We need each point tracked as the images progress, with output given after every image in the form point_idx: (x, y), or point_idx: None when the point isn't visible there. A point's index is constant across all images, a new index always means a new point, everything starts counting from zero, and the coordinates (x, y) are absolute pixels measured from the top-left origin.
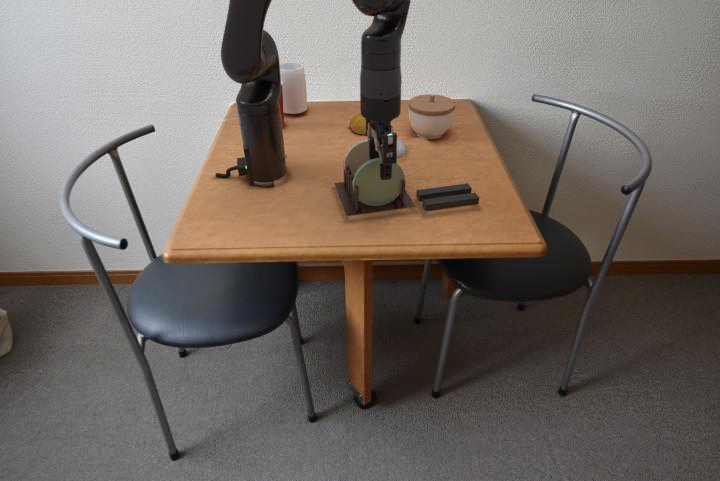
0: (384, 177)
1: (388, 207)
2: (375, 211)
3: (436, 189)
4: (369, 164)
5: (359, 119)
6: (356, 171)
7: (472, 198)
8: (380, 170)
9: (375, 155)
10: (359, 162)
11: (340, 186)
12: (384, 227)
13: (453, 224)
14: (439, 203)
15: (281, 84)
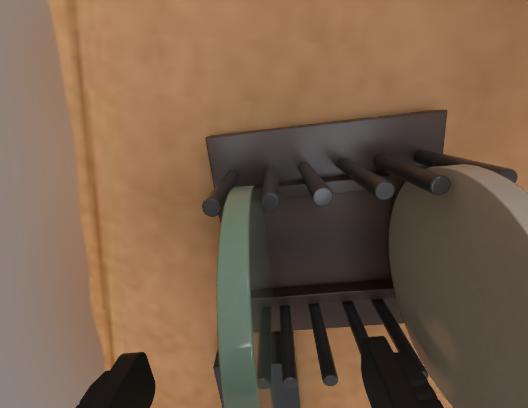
0: (97, 383)
1: None
2: None
3: (288, 404)
4: (221, 349)
5: None
6: (425, 217)
7: None
8: (99, 404)
9: (372, 385)
10: (453, 251)
11: (412, 133)
12: (178, 239)
13: (186, 378)
14: (220, 394)
15: None
